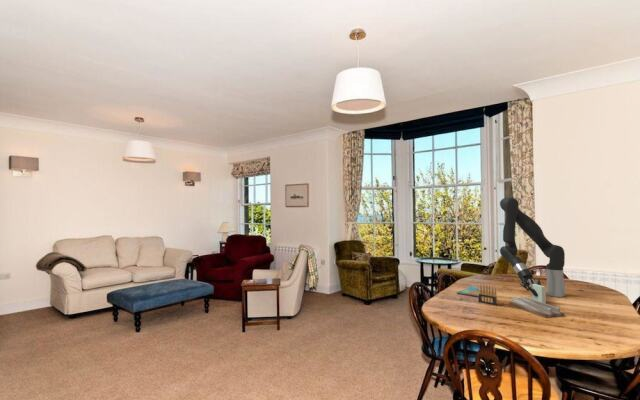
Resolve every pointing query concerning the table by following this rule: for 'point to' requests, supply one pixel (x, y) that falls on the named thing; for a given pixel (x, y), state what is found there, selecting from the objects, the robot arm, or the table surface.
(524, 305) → the board
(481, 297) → the ammunition clip
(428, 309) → the table surface
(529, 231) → the robot arm
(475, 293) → the dish towel
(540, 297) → the door panel
